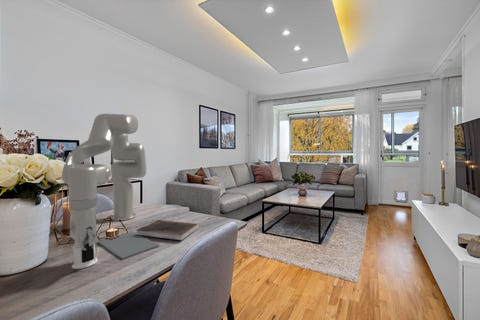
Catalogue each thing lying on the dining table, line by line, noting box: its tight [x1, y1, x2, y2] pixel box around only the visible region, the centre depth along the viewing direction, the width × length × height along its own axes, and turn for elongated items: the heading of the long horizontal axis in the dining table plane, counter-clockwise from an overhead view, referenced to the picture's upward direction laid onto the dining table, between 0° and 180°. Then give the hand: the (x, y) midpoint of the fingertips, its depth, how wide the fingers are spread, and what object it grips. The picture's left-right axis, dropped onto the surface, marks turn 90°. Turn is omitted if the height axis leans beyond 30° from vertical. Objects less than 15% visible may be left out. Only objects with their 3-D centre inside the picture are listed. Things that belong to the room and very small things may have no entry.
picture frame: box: [135, 219, 199, 241], centre depth 102 cm, size 16×2×22 cm
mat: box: [97, 231, 160, 261], centre depth 88 cm, size 22×14×1 cm, turn 52°
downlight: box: [69, 237, 100, 270], centre depth 73 cm, size 8×7×10 cm
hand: (84, 257), depth 73 cm, fingers closed on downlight, 5 cm apart
